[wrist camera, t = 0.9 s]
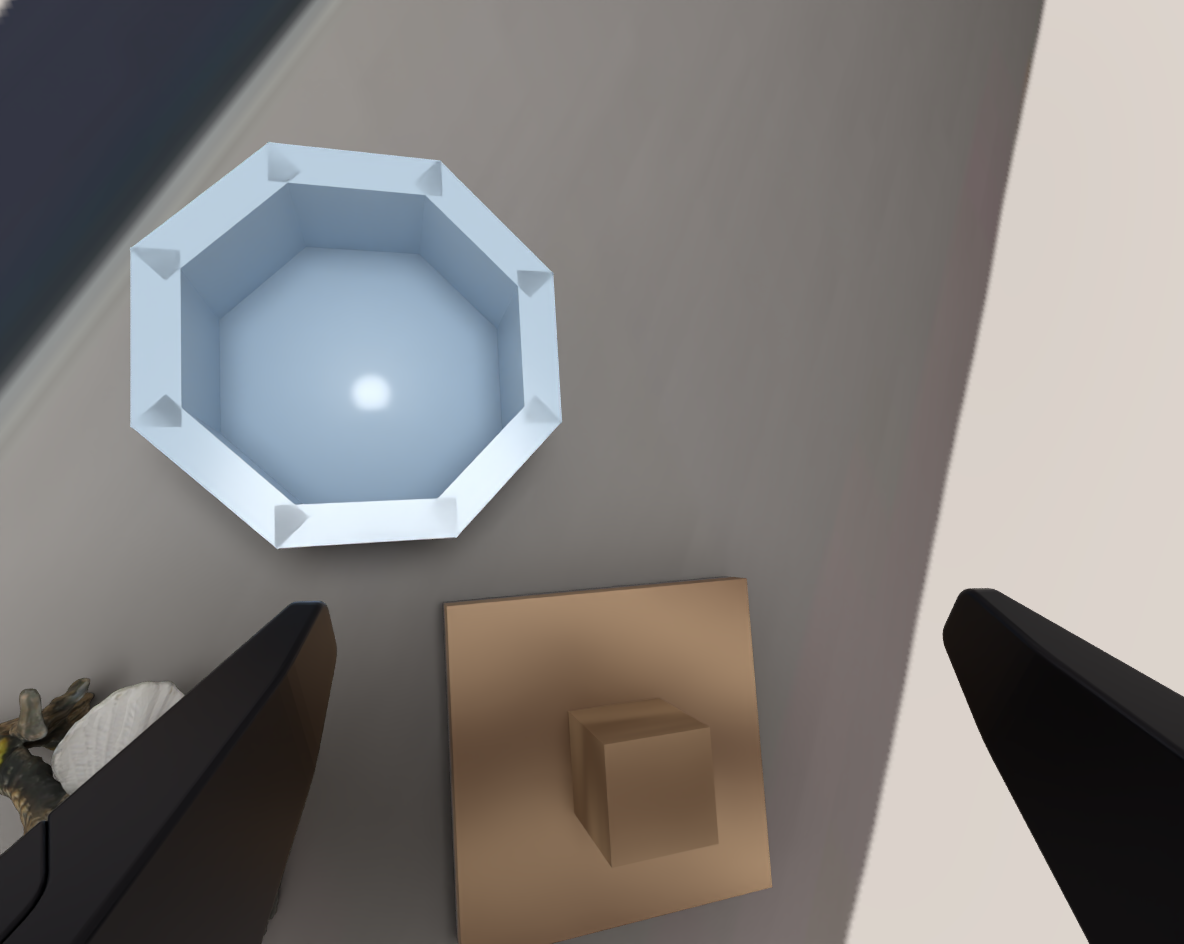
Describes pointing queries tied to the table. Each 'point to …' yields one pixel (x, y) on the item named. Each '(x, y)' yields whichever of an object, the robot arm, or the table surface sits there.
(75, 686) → the eagle figurine
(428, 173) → the bowl
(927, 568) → the table surface
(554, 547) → the table surface
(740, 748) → the lid
